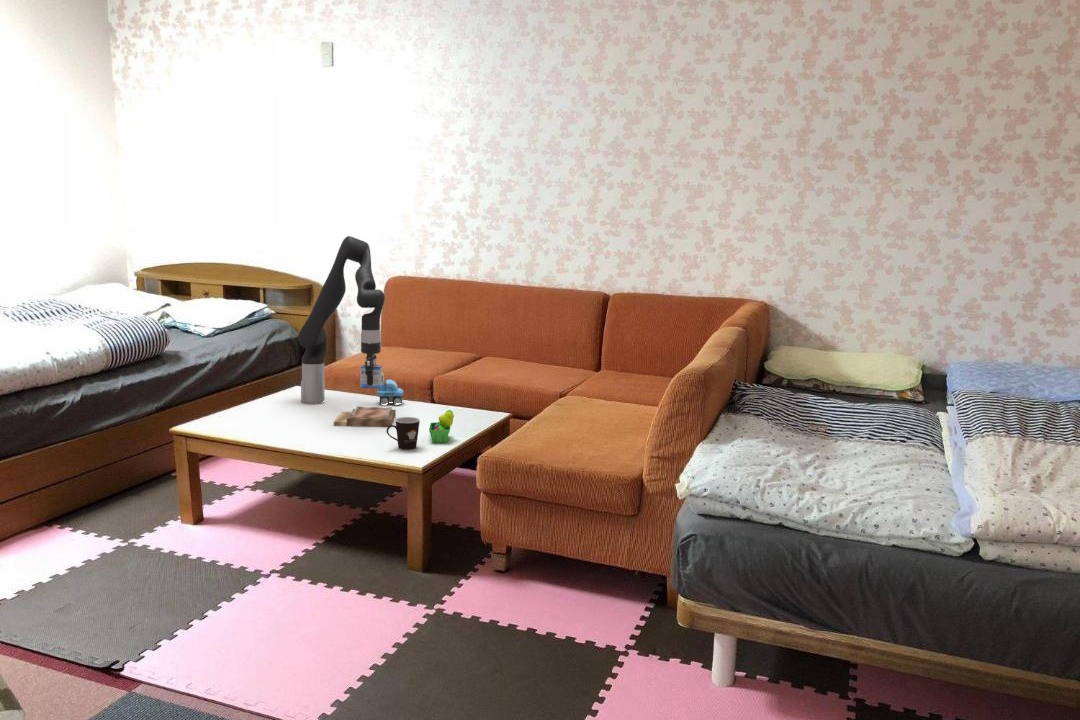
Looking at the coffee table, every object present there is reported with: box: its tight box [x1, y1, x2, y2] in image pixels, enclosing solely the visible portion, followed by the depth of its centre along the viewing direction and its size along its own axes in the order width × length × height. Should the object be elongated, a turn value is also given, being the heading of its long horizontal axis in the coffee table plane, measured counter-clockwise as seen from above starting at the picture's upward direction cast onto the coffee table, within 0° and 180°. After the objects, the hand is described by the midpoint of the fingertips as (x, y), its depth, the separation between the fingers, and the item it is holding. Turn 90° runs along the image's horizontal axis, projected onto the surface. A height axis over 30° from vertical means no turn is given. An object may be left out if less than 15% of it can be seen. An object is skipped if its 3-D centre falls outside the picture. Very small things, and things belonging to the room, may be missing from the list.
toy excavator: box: [376, 371, 405, 405], centre depth 363 cm, size 9×17×17 cm, turn 100°
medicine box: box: [359, 364, 383, 389], centre depth 332 cm, size 8×4×9 cm, turn 95°
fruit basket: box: [428, 409, 455, 444], centre depth 312 cm, size 11×9×11 cm
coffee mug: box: [386, 416, 420, 451], centre depth 301 cm, size 12×9×10 cm
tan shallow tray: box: [333, 405, 397, 428], centre depth 335 cm, size 22×16×4 cm
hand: (370, 383), depth 332 cm, fingers closed on medicine box, 4 cm apart
